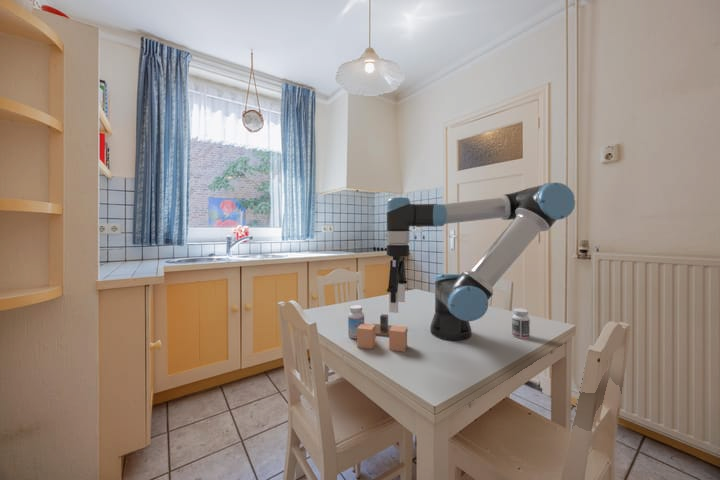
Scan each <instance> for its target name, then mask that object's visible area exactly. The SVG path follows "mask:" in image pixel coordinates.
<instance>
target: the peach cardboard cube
mask: <svg viewBox="0 0 720 480" xmlns="http://www.w3.org/2000/svg"><path fill="white" fill-rule="evenodd" d="M373 324H374V323H371V324H370V323H364V324H363V323H361V324H360V326H359V327H358V328H357V339H356V343H357V344H356V346H357V348H360V349H361V348H362V349H369V350H372V349H373V348H374V346H375V345H376V343H377V341H376V338H377V337H376V336H377V335H376V325H373Z"/></svg>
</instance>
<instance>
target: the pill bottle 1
mask: <svg viewBox="0 0 720 480" xmlns="http://www.w3.org/2000/svg"><path fill="white" fill-rule="evenodd" d="M349 310H350V311H349V312H348V314H347V315H348V316H347V317H348V318H347V321H348V322H347V326H348V329H347V331H348V337H349V338H350V339H356V340H357V328H358V327H359V326H360V324H361V323H363V324H365V313H364V312H363V306H362V305H359V304H356V305H351V306H349Z"/></svg>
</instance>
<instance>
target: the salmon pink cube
mask: <svg viewBox="0 0 720 480" xmlns="http://www.w3.org/2000/svg"><path fill="white" fill-rule="evenodd" d="M391 326H392V327H391V328H390V330H389V336H388V339H389V340H388V341H389V342H388V349H389V350H390V351H396V352H406V350H407V346H408V326H402V325H393V324H392V325H391Z"/></svg>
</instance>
